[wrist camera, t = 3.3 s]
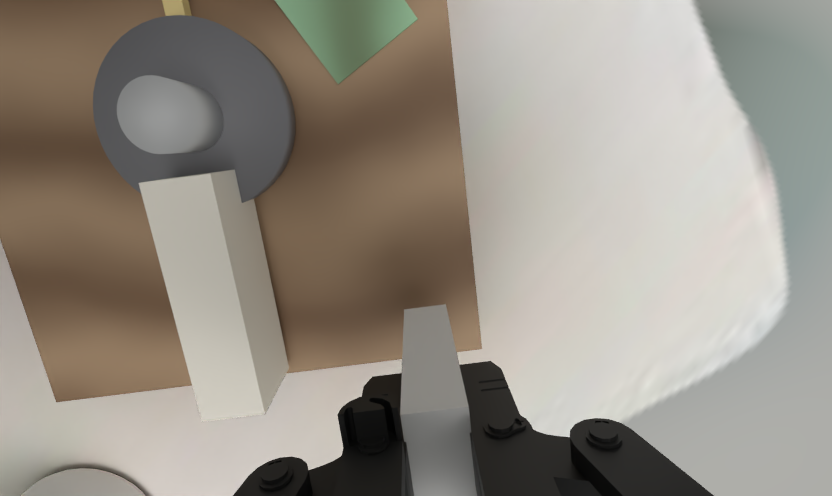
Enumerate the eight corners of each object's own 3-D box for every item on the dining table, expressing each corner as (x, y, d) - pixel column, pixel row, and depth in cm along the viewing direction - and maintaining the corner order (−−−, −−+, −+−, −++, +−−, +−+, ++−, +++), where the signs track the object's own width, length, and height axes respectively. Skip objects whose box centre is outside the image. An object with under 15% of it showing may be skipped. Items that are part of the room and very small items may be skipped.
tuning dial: (45, -146, 16) (-63, -232, 12) (243, -173, 16) (194, -268, 12) (186, 380, 21) (138, 432, 17) (339, 361, 21) (324, 409, 17)
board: (-75, -115, 18) (-136, -148, 16) (422, -183, 18) (424, -224, 16) (85, 380, 23) (54, 403, 21) (475, 331, 23) (482, 350, 21)
